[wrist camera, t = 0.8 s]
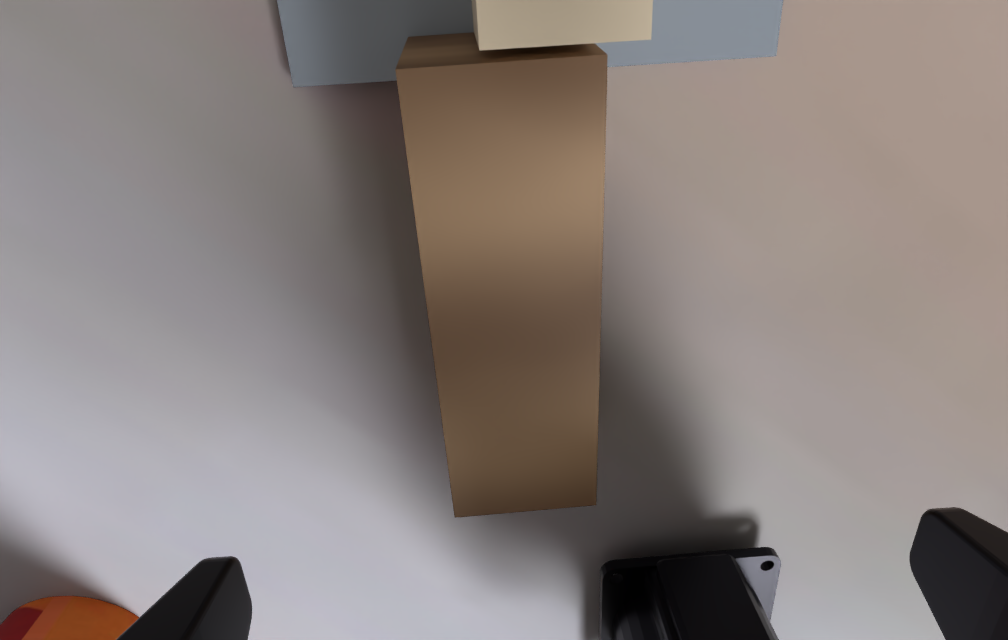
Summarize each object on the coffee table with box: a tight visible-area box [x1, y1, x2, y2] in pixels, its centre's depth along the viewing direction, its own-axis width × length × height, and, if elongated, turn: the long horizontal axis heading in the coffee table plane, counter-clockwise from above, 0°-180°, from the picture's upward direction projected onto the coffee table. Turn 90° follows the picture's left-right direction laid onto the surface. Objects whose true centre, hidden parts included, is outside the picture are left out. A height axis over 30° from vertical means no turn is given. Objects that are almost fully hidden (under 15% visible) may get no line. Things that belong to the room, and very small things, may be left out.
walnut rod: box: [395, 32, 608, 517], centre depth 17 cm, size 12×4×4 cm, turn 3°
